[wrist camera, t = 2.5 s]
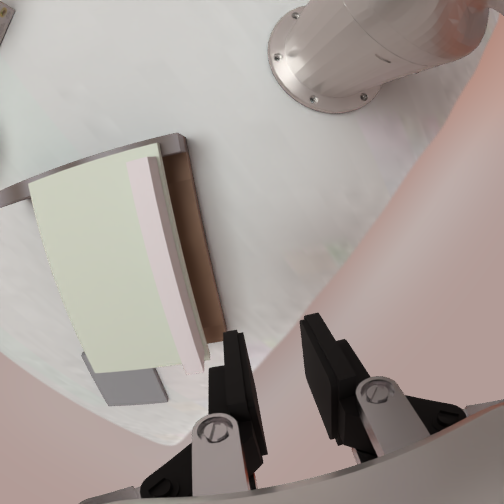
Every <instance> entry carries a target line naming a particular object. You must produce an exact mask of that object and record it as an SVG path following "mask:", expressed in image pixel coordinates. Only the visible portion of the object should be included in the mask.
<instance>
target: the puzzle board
mask: <svg viewBox="0 0 504 504" xmlns="http://www.w3.org/2000/svg"><path fill="white" fill-rule="evenodd" d="M154 143H159V144H160V150H161V155H162V160H163V165H164V170H165V175H166V180H167V185H168V190H169V195H170V200H171V204H172V209H173V213H174V218H175V222H176V227H177V231H178V235H179V240H180V244H181V248H182V252H183V256H184V260H185V264H186V268H187V272H188V276H189V280H190V284H191V288H192V291H193V295H194V299H195V303H196V306H197V310H198V314H199V317H200V321H201V324H202V328H203V331H204V335H205V338H206V342H207V344H208V343H214V342H220V341H223V332H227V328H226V324H225V320H224V316H223V312H222V308H221V303H220V299H219V295H218V291H217V286H216V282H215V278H214V273H213V269H212V264H211V260H210V255H209V251H208V246H207V242H206V237H205V232H204V228H203V223H202V218H201V213H200V208H199V204H198V199H197V194H196V189H195V184H194V178H193V173H192V168H191V163H190V158H189V152H188V147H187V141H186V137H184V136H182V135H181V134H179V133H173V134H169V135H165V136H161V137H157V138H153V139H149V140H145V141H141V142H137V143H133V144H130V145H126V146H123V147H119V148H116V149H112V150H109V151H106V152H102V153H99V154H96V155H93V156H90V157H87V158H84V159H81V160H78V161H75V162H72V163H69V164H66V165H63V166H60V167H58V168H55V169H52V170H49V171H47V172H44V173H42V174H39V175H36V176H34V177H31V178H29V179H26V180H24V181H22V182H19V183H17V184H14V185H12V186H10V187H8V188H5V189H3V190H1V191H0V208H1V207H4V206H7V205H10V204H13V203H16V202H19V201H22V200H26V199H28V198H31V196H30V191H29V186H28V183H31V182H33V181H36V180H39V179H41V178H44V177H46V176H49V175H52V174H55V173H57V172H60V171H63V170H66V169H69V168H72V167H75V166H78V165H81V164H84V163H87V162H90V161H93V160H96V159H99V158H103V157H106V156H109V155H113V154H116V153H120V152H123V151H127V150H131V149H134V148H138V147H142V146H146V145H150V144H154Z"/></svg>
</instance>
